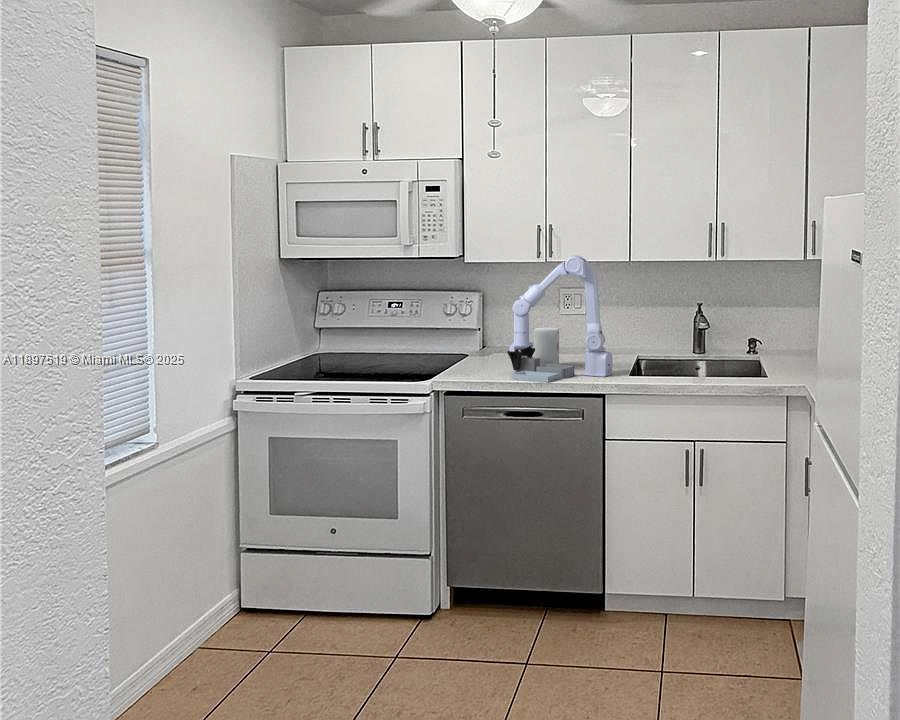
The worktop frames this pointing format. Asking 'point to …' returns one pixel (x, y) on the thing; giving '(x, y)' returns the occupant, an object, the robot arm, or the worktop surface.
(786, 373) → the worktop surface
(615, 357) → the worktop surface
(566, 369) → the bay
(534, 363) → the caddy
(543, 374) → the tray
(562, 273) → the robot arm
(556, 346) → the grey piece
